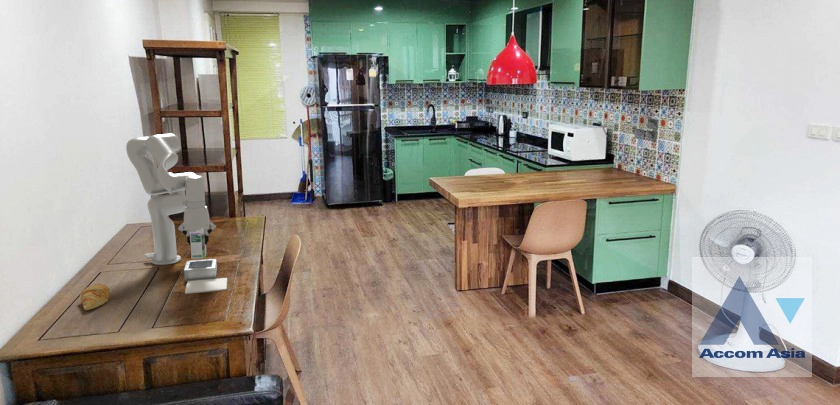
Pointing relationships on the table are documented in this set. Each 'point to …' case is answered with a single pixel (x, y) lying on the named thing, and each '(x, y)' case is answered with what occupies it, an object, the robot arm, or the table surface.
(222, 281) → the mat
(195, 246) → the syrup box
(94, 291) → the croissant
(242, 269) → the table surface
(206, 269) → the gray rectangular frame
